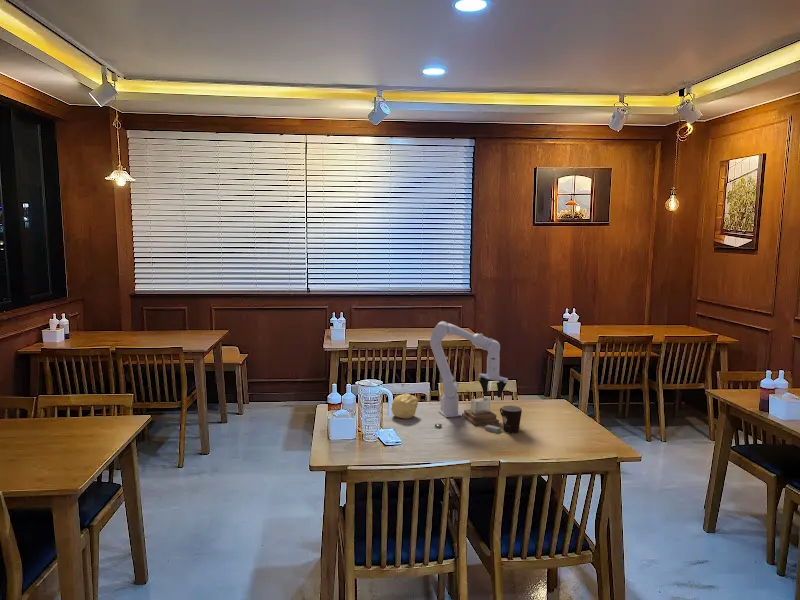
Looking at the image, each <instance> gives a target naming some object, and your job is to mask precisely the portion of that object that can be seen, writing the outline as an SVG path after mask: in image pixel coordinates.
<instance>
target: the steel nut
mask: <svg viewBox="0 0 800 600" xmlns="http://www.w3.org/2000/svg"><path fill="white" fill-rule="evenodd" d="M442 425H443V424H441V423H435V424H434V428H435V429H442Z"/></svg>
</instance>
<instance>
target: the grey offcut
mask: <svg viewBox="0 0 800 600" xmlns="http://www.w3.org/2000/svg"><path fill="white" fill-rule="evenodd" d="M501 428H502V427H499V426H496V425H493V424H488V425H484V431H487V432H491V433H495V434H499V433H500V432H501V430H502V429H501ZM498 432H499V433H498Z"/></svg>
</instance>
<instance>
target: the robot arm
mask: <svg viewBox="0 0 800 600" xmlns="http://www.w3.org/2000/svg"><path fill="white" fill-rule="evenodd" d="M447 334H448V336H454V335H455V336H458V337H460V338H464V339H465V340H467V341H469V342H471V344H472V345H473V346H475V347H477V348H479V349H481V350H484V351H487V357H486V373H478V376H477V377H478V382H479V383H480V386H481V389H482V391H483V392H482V393H483V395H487V394H488V391H489V388H488V387H489V381H495V382H496V387H497V398H501V397H502V396H503V395H502V394H503V392H504V389H505V387H506V386H507V384H508V381H509V378H508V377H503V376H501V375H500V362H501V361H500V359H501V357H500V356H501V355H500V352H501V344H500V342H498V341H497V340H496V339H493V338H492V337H490V338H489V337H486V336H484V334H483V333H481V332H480V333H477V332H476V333H475V334H473V333H472V332H470V331H467V330H465V329H464V328H462V327H459V326H458V325H456V324H453V323H449V322H447V321H444V320H441V321H439V322H438V323H437V324H436V325H435V327H434V328H433V329H432V330H431V336H430V340H429V345H430V348H431V351H432V353H433V356H434V357H433V358H434V360H435V363H436V365H437V368H438V371H439V373H440V376H441V379H442V380H441V381H442V385H443V391H442V392H443V394H442V395H441V397H440V410H438V412H439V413H440V414H441V415H442V416H444V417H445V418H453V417H462V413H459V399H460V398H459V397H460V395H459V394H458V390H459V388H460V387H459V383H458V382H457V381H456V379H455V378H454V375H453V373H452V371H451V369H450V366H449V364H448V363H449V362H448V360H447V357H446V355H445V352H444V349H443V347H442V346H443V345H442V342H443V339H444V338H445V337H446V336H447Z"/></svg>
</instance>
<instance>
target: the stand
mask: <svg viewBox="0 0 800 600" xmlns="http://www.w3.org/2000/svg"><path fill="white" fill-rule="evenodd" d="M461 418H463V419H465V420H466V421H467V422H469V423H470V424H471V425H473V426H474V427H476V426H477V427H478V426H487V425H496V424H498V425H499V424H500V420H499V419H498V418H497V414H495V413H494V412H492V411H491V410H490V412H489V413H484V414H478V415H475V414H473V413H471V408H470V409H464V410H463V412H462V413H461Z"/></svg>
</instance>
